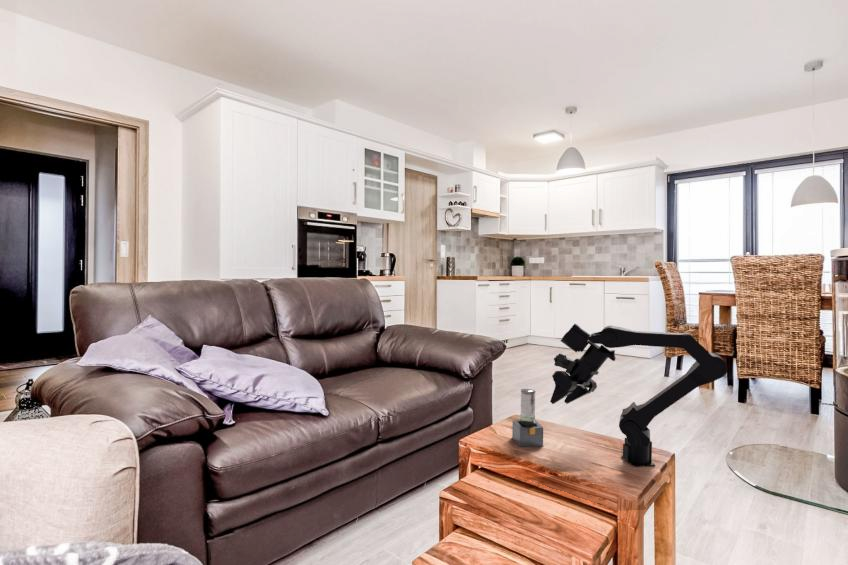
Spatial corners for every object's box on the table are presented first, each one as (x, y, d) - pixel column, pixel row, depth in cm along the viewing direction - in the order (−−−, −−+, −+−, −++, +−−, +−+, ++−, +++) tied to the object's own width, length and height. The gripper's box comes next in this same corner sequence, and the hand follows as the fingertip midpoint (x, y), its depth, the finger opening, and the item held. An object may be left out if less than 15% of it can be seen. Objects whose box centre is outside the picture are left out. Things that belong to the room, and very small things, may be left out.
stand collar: (535, 439, 138) (535, 419, 138) (544, 450, 130) (544, 428, 130) (511, 440, 137) (511, 419, 137) (519, 451, 129) (520, 429, 129)
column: (532, 426, 136) (532, 388, 136) (537, 432, 132) (537, 392, 131) (518, 427, 136) (518, 388, 135) (522, 432, 131) (523, 392, 131)
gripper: (582, 347, 139) (553, 385, 144) (555, 342, 126) (524, 383, 130) (610, 371, 132) (579, 409, 136) (585, 368, 119) (551, 410, 123)
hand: (558, 402), depth 132 cm, fingers open, 9 cm apart
